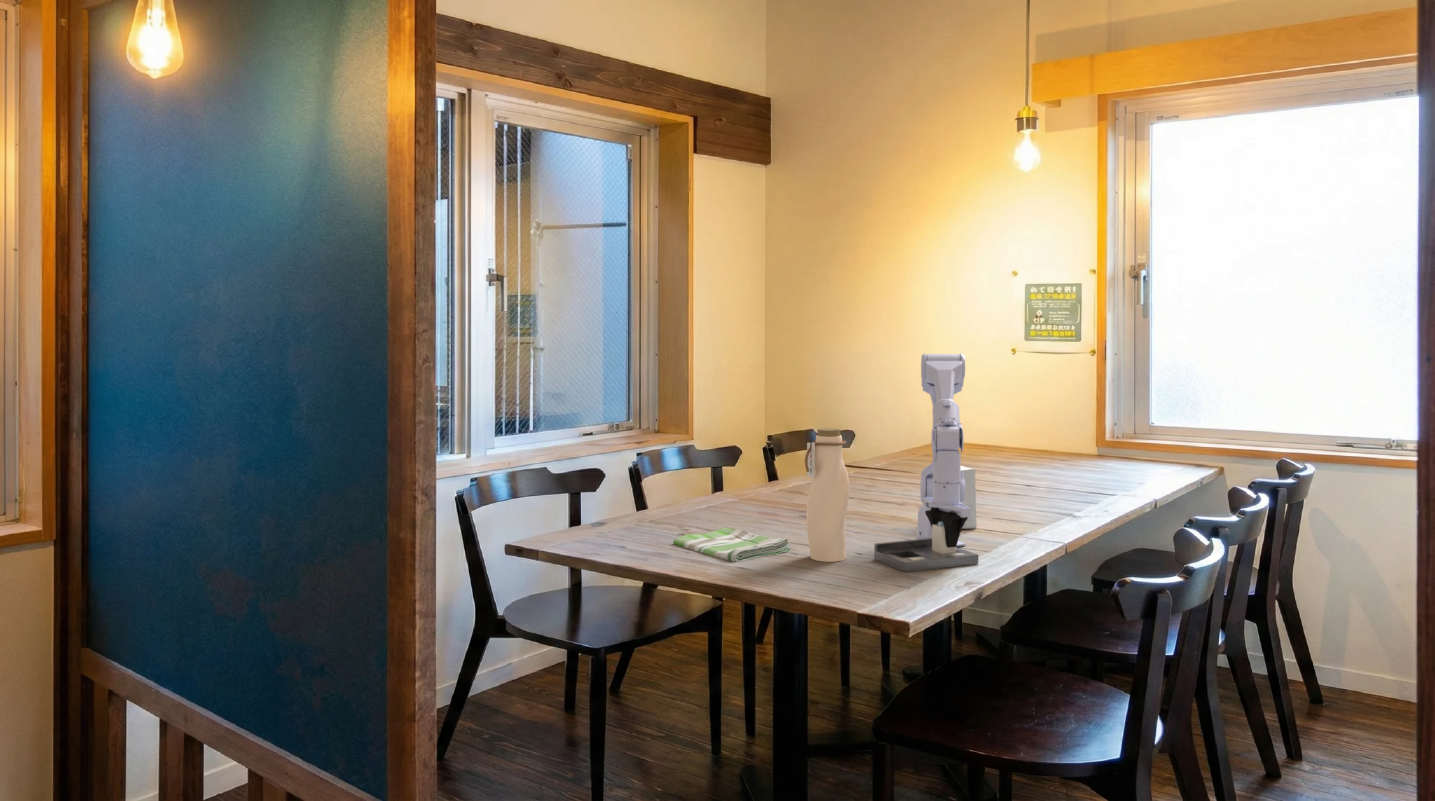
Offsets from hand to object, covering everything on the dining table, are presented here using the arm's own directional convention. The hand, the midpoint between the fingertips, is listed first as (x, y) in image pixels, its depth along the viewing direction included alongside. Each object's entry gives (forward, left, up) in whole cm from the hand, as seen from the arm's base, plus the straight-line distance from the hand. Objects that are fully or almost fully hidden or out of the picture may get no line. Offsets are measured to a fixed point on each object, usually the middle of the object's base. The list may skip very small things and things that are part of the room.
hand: (945, 544), depth 214 cm
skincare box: (-29, +24, -3) cm, 38 cm away
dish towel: (-29, -38, -4) cm, 48 cm away
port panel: (0, -5, -3) cm, 6 cm away
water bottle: (-11, -23, -3) cm, 26 cm away
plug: (0, -1, -3) cm, 3 cm away
